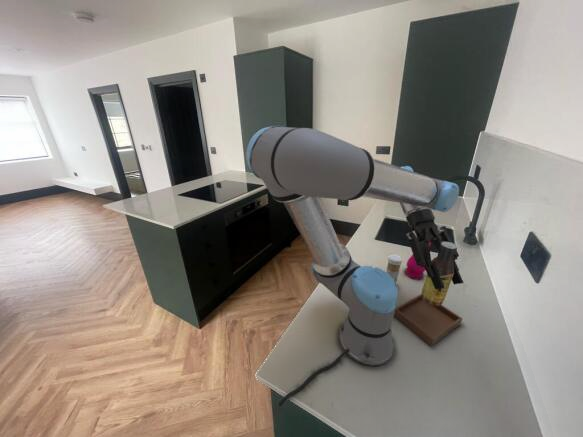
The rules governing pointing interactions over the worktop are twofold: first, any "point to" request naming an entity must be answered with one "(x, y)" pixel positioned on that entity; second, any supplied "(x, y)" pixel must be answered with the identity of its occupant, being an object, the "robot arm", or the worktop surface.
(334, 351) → the worktop surface
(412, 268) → the pepper mill
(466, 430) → the worktop surface
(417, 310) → the serving tray
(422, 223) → the robot arm
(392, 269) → the sprinkles bottle
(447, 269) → the sauce bottle
